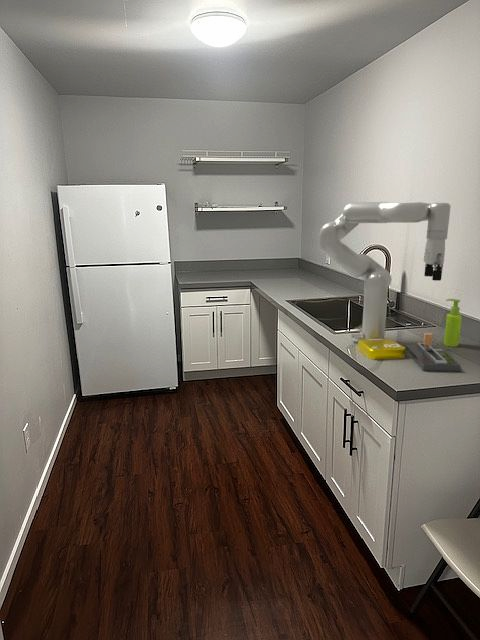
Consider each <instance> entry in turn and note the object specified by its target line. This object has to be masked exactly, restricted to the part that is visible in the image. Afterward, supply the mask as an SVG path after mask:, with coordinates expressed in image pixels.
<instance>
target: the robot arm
mask: <svg viewBox="0 0 480 640" xmlns="http://www.w3.org/2000/svg"><path fill="white" fill-rule="evenodd" d="M450 214H451V204H450V203H447V202H433V203H429V202H428V203H427V202H423V201H421V202H420V201H419V202H387V201H373V202H372V201H369V202H367V201H365V202H349V203H347V204H346V205H345V206H344V208H343V209H342V213H341V214H340V215H339V216H338V217H337V218H336V219H335V220H333V221H329V222H326V223H325V224H323V225H322V227H321V229H320V231H319V235H318V242H319V246H320V249H321V250H322V251H323V253H324V254H325V255H326V257H328V258H329V259H330V260H332V261H333V262H335V264H337V266H338V267H340V268H341V269H343V270H344V271H345V272H347V273H348V275H350V276H351V277H352V278H361V279H363V280H364V283H363V310H362V311H363V312H362V325H361V330H360V331H359V332H358V333H350V338H351V339H355V340H357V341H358V340H361V339H381V338H385V335H386V334H385V332H386V322H387V321H386V320H387V305H388V291H389V290H388V289H389V287H390V285H391V283H392V275H391V273H390V272H389V271H388V270H387V269H386V268H385V267H383V266H382V265H381V264H380V263H378V262H377V261H376V260H374V259H373V258H372V257H370V256H369V255H367V254H365V253H357V252H355V251H354V250H353V249H352V248H350V247H349V246H348V245H346V244H344V243H343V242H342V241H341V240H343V239H344V238H345V237H346V236H347V235H349V233H351V232H352V231H353V230H354V229H355V228H356V227H357V226H358V225H360V224H387V223H388V224H390V223H399V224H400V223H405V224H406V223H407V224H408V223H412V224H413V223H414V224H415V223H419V222H420V223H421V222H426V221H427V229H426V244H425V248H424V255H423V262H424V263H425V264H424V277H432V279H431V280H432V281H439V282H440V281H441V280H442V275H443V269H444V268H443V267H444V262H445V254H446V251H445V250H446V240H447V239H448V234H449V233H448V232H449V224H450Z"/></svg>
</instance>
